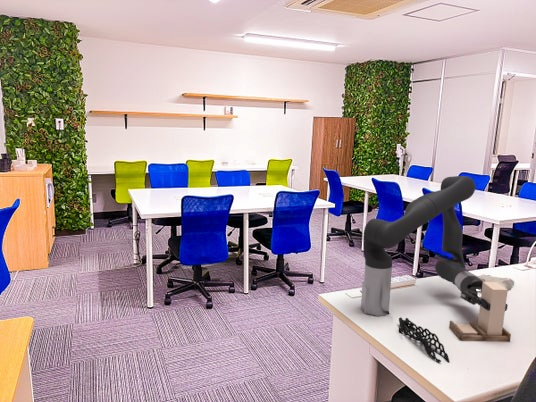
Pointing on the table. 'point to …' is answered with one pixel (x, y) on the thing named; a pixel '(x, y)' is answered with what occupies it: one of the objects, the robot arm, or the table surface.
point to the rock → (498, 281)
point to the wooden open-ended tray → (479, 334)
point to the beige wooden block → (493, 308)
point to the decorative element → (420, 336)
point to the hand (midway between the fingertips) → (497, 307)
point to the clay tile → (466, 329)
